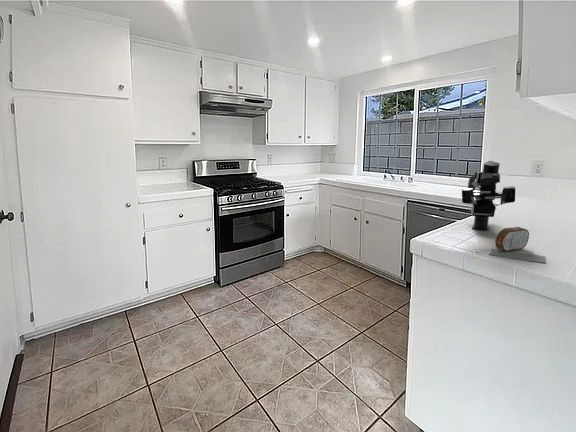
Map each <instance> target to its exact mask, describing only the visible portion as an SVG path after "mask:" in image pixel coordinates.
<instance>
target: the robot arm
mask: <svg viewBox="0 0 576 432" xmlns="http://www.w3.org/2000/svg"><path fill="white" fill-rule="evenodd" d="M499 171H500V162H497V161H493V160H487V161H485V162H484V163H483V167H482V171H474V173H473V175H472V176H470V178H468V183H467V188H466V187H465V188H463V189H461V203H462V204H467V205H471V211H470V212H471V216H472V217H474V221H473V226H472V227H471V229H472V230H477V231H478V230H481V231H489V229H490V226H489V219H490V218H494V217H495V212H496V209H497V206H496V205H495V203H494V202H493V201H495V200H496V199H500V205H505V204H509V203H510V204H511V203H515V202H516V187H515V186H514V185H513V186H503V189H502V192H497V184H498V183H499V184H500V183H501V174H500V172H499Z"/></svg>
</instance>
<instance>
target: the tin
mask: <svg viewBox="0 0 576 432" xmlns="http://www.w3.org/2000/svg"><path fill="white" fill-rule="evenodd" d="M529 238H530V232H529V230H528V229H526V228H523V227H520V226H514V227H505V228H503V229H501V230H500V231H499V232H498V234H497V236H496V237H495V247H496V248H497V249H498V250H503V251H511V252H513V251H518V250H523V249H524V248H525V247H526V246H527V244H528V242H529Z"/></svg>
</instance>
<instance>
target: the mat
mask: <svg viewBox="0 0 576 432" xmlns="http://www.w3.org/2000/svg"><path fill="white" fill-rule="evenodd" d="M489 256H495V257H501V258H507V259H513V260H521V261H527V262H534V263H539V264H546V256H544V255H539V254H538V255H537V254H531V253H524V252H518V251H503V250H499V249H498V248H497V249H496V248H491V250H490V252H489Z"/></svg>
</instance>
